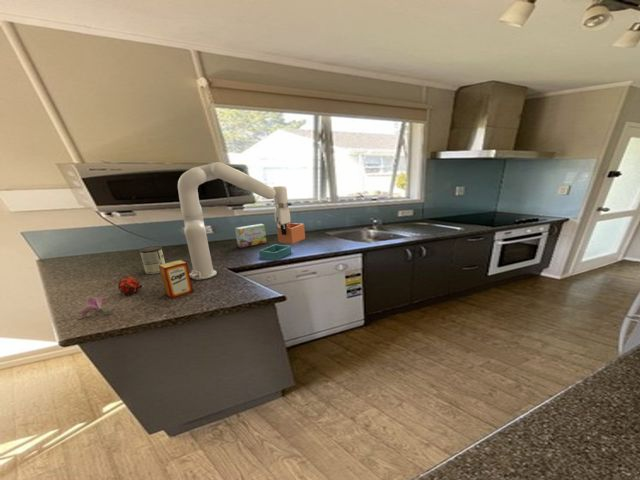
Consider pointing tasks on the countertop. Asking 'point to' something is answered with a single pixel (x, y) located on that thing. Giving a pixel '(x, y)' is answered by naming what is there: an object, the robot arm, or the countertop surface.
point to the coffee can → (152, 259)
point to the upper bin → (292, 233)
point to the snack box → (250, 235)
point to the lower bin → (275, 252)
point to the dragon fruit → (129, 285)
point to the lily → (93, 304)
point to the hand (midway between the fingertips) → (284, 234)
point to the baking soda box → (176, 278)
